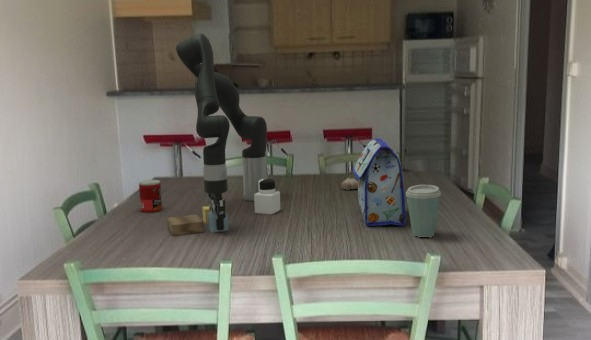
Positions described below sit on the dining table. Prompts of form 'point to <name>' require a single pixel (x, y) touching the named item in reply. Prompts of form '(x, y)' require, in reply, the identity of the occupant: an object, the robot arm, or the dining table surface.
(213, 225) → the slate cube
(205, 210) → the ochre block
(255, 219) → the dining table surface
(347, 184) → the garlic bulb
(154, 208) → the canned food
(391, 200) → the lunch bag
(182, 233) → the walnut base
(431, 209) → the disposable coffee cup
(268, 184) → the medicine bottle
